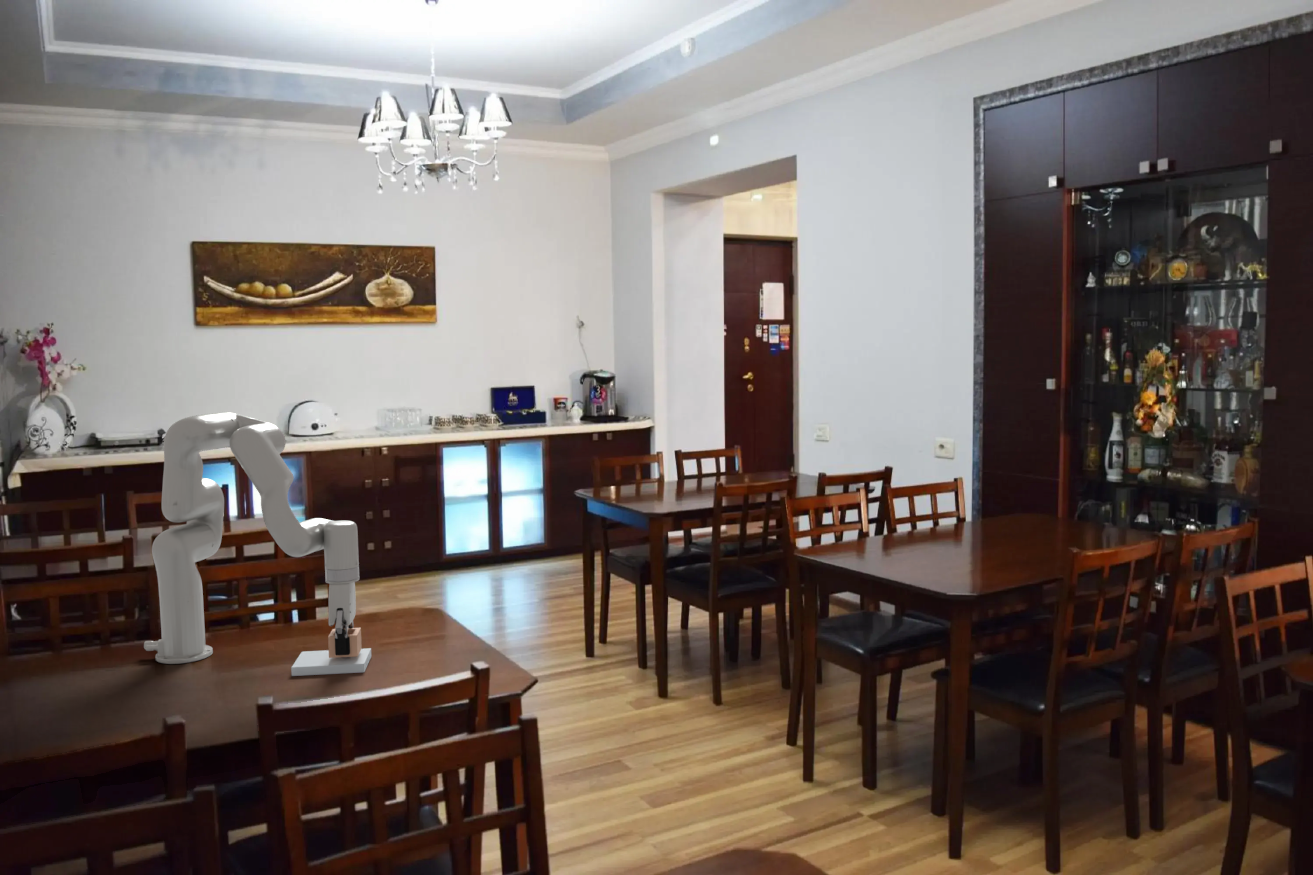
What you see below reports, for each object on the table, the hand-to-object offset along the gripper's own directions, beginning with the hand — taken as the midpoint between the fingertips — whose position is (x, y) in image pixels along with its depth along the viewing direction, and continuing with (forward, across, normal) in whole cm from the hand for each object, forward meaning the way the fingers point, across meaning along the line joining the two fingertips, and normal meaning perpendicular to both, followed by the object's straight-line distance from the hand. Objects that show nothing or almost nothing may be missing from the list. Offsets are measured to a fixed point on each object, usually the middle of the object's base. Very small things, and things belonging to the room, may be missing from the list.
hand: (345, 649), depth 242 cm
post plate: (+4, 0, -3) cm, 5 cm away
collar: (+1, 0, 0) cm, 1 cm away
